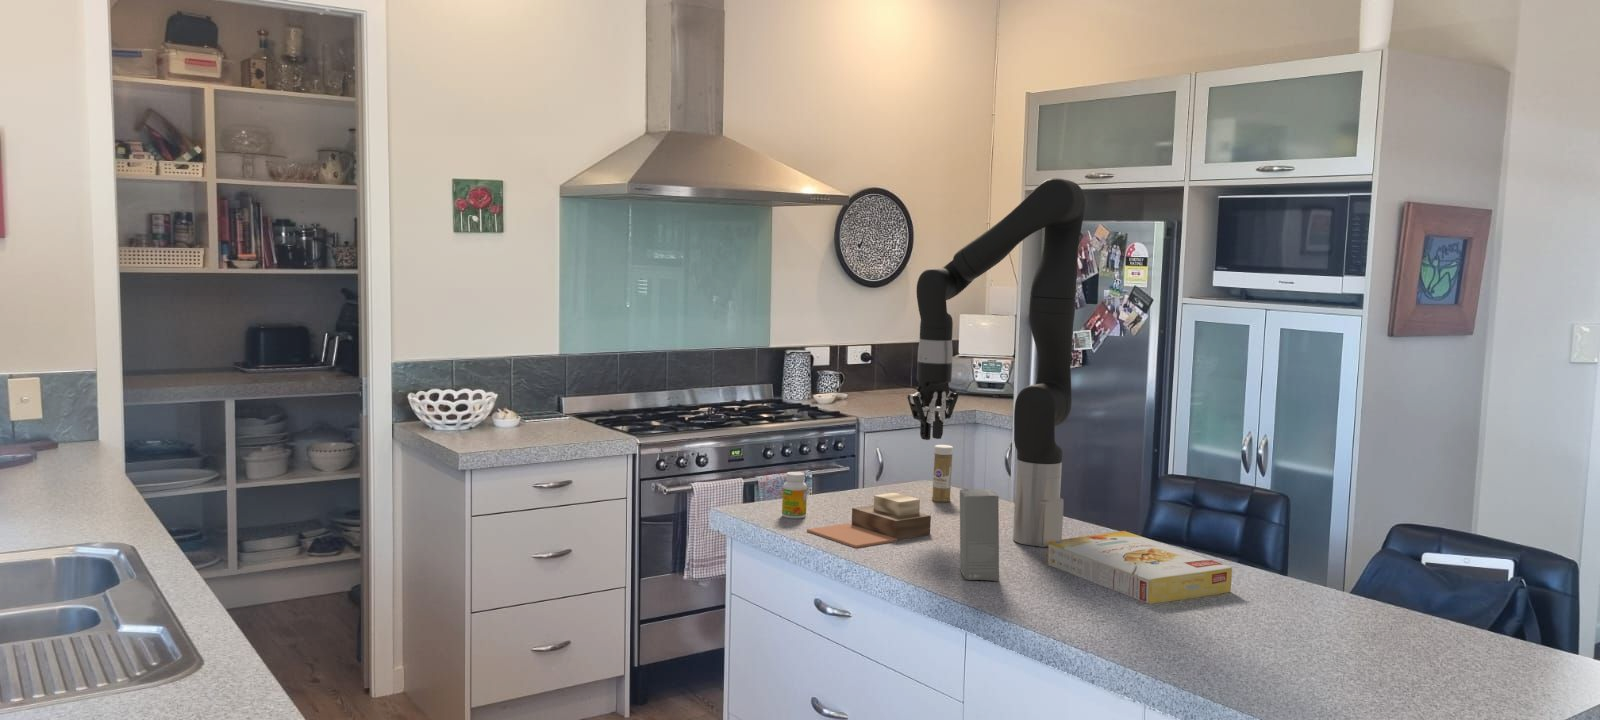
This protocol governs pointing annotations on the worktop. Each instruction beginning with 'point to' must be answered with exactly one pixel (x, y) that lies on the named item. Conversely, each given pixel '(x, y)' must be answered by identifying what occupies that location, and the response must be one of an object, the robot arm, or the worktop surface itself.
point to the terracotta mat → (851, 535)
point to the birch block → (896, 504)
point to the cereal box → (1139, 567)
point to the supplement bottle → (794, 496)
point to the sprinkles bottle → (942, 473)
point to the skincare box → (979, 534)
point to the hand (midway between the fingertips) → (931, 438)
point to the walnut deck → (891, 522)
